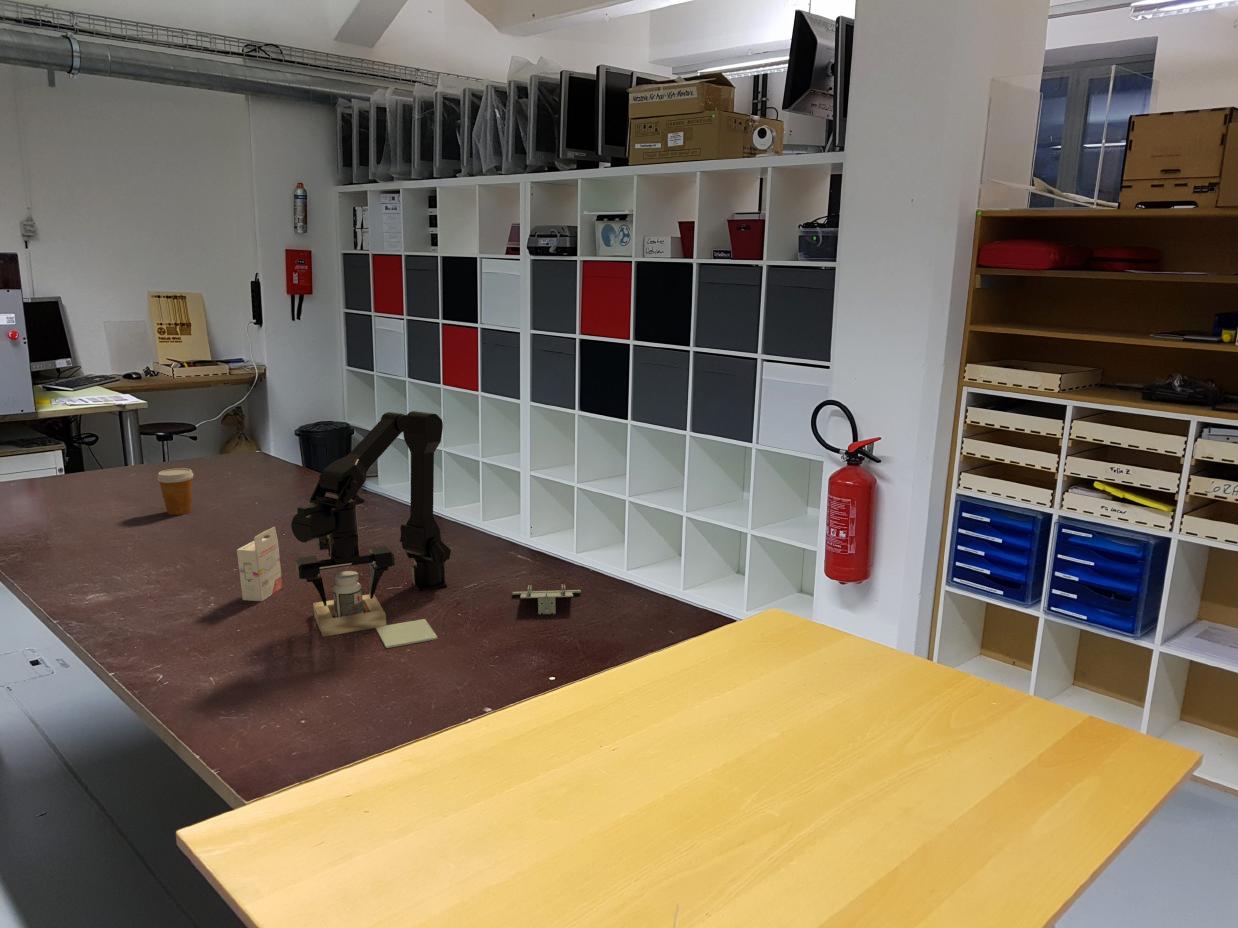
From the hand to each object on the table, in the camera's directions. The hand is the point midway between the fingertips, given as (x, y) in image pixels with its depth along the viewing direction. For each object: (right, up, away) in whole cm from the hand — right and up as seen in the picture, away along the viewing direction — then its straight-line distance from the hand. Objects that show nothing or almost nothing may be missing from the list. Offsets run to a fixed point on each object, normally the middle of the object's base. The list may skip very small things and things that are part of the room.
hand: (348, 601), depth 191 cm
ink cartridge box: (-23, -1, +15) cm, 28 cm away
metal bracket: (+40, -2, +10) cm, 41 cm away
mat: (+13, -6, -6) cm, 16 cm away
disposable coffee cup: (-71, +14, +77) cm, 106 cm away
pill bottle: (0, -4, +1) cm, 4 cm away
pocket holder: (0, -4, +1) cm, 4 cm away
